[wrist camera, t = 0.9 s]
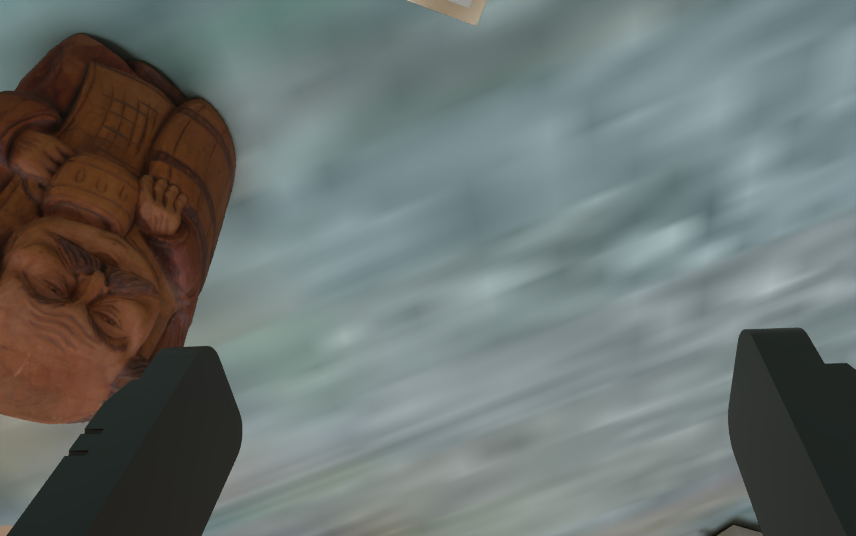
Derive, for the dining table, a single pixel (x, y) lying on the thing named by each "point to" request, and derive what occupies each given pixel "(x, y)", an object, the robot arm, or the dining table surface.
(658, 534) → the dining table surface
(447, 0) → the board
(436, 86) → the dining table surface
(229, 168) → the wooden figurine
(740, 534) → the stamp
